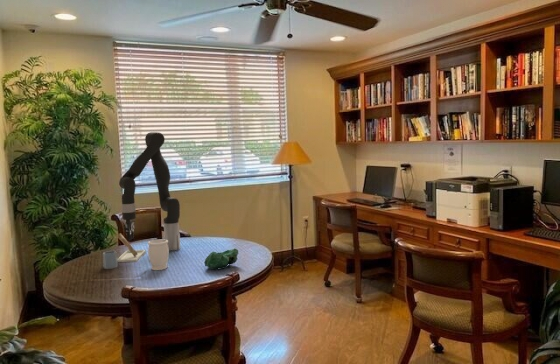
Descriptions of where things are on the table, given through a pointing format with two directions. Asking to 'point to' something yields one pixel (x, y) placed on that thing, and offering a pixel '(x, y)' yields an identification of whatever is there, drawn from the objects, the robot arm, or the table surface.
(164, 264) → the jar
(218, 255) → the mineral
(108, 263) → the cup
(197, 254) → the table surface
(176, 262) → the table surface
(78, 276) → the table surface
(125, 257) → the tray
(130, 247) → the pin
